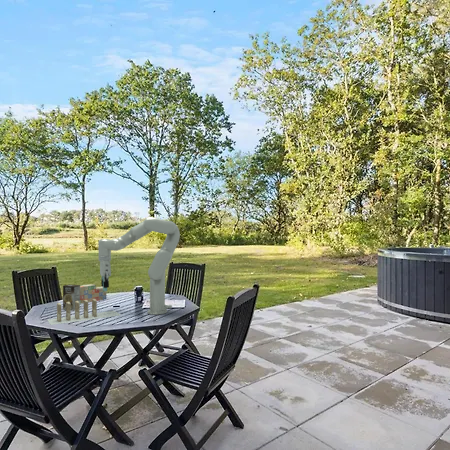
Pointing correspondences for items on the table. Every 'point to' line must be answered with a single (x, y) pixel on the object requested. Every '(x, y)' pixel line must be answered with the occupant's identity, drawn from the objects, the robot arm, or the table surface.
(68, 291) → the coffee box
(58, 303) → the tile
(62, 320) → the mat
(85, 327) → the table surface
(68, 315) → the tile
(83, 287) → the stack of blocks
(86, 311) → the tile
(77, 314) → the tile
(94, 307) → the tile
